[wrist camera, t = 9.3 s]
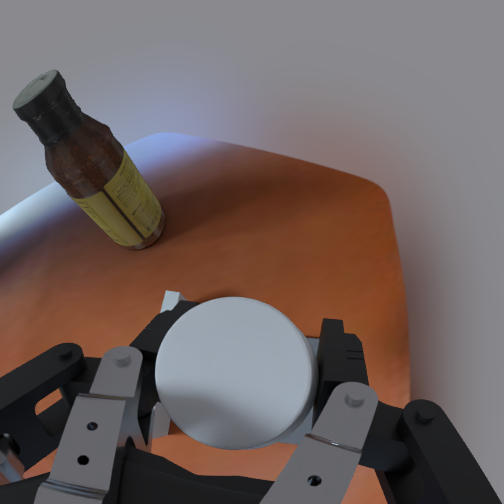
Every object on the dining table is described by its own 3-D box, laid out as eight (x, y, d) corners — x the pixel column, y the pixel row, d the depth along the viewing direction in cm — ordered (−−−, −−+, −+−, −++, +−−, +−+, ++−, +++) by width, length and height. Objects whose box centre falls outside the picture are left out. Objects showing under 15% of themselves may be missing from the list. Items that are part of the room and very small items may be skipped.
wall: (155, 431, 23) (135, 434, 19) (181, 305, 28) (166, 290, 24) (167, 435, 23) (149, 439, 19) (193, 307, 28) (179, 292, 24)
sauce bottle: (155, 194, 34) (77, 46, 17) (176, 233, 32) (84, 68, 14) (108, 224, 33) (7, 94, 16) (123, 266, 31) (-2, 130, 13)
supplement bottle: (252, 322, 16) (220, 248, 9) (326, 374, 14) (368, 347, 7) (194, 392, 15) (109, 378, 7) (267, 449, 13) (246, 500, 6)
